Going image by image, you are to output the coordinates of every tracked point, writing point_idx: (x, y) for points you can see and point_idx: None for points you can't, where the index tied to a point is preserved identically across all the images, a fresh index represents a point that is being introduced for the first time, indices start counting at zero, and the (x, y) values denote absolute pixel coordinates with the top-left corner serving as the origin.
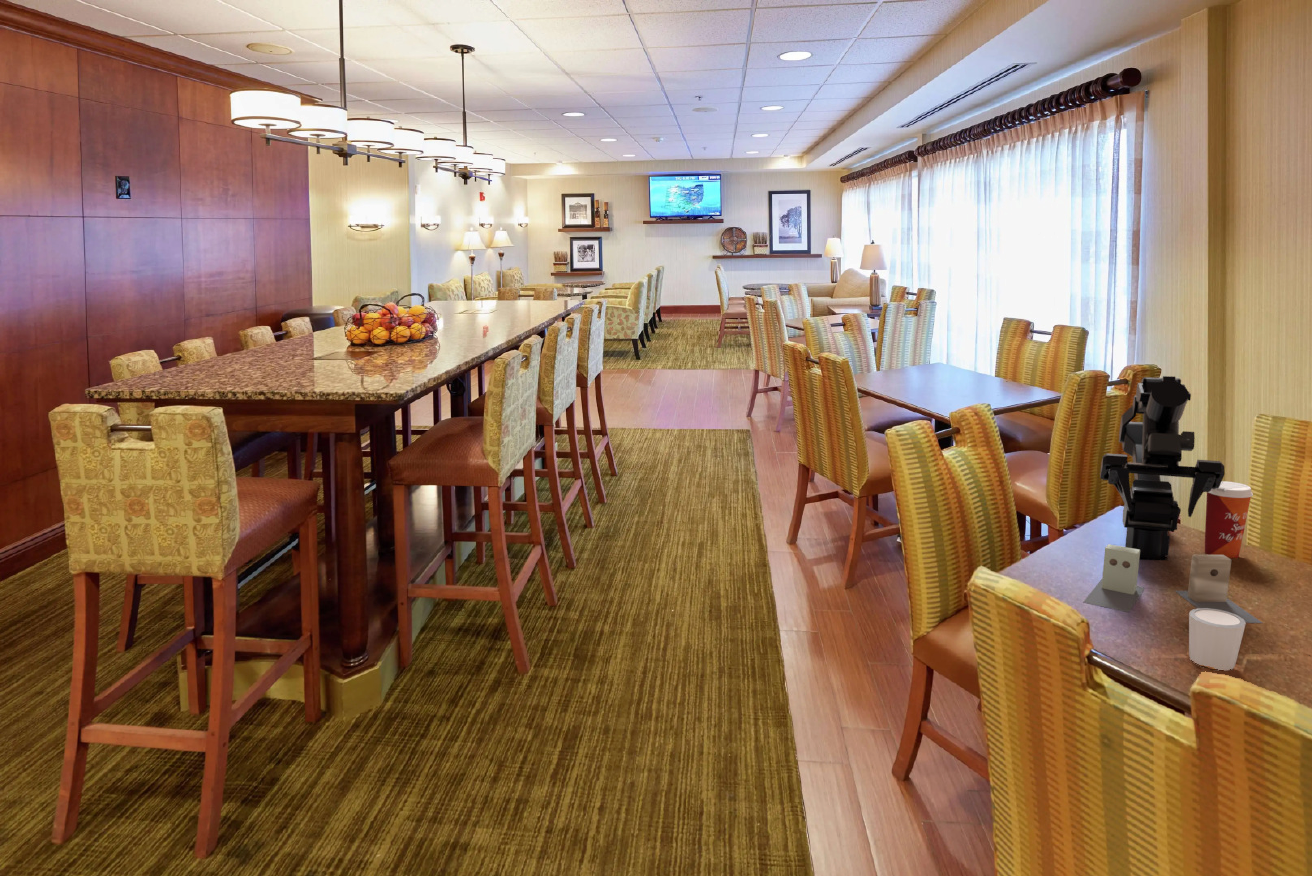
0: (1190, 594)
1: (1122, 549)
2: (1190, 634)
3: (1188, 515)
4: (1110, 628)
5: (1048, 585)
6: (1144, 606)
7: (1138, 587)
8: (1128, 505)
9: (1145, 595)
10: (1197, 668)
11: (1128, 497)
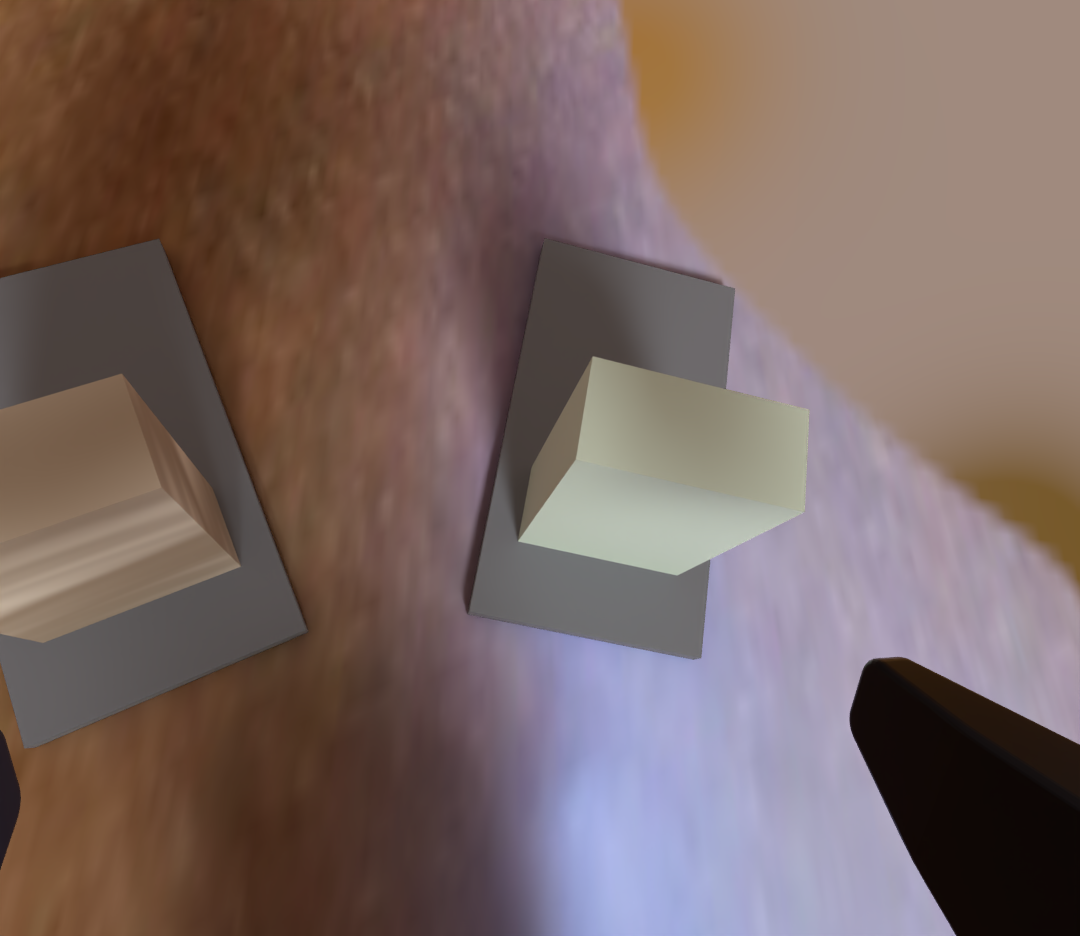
0: (226, 533)
1: (696, 420)
2: None
3: (12, 806)
4: (601, 111)
5: (905, 491)
6: (474, 382)
7: (506, 596)
8: (938, 674)
9: (466, 541)
10: None
11: (1061, 764)
